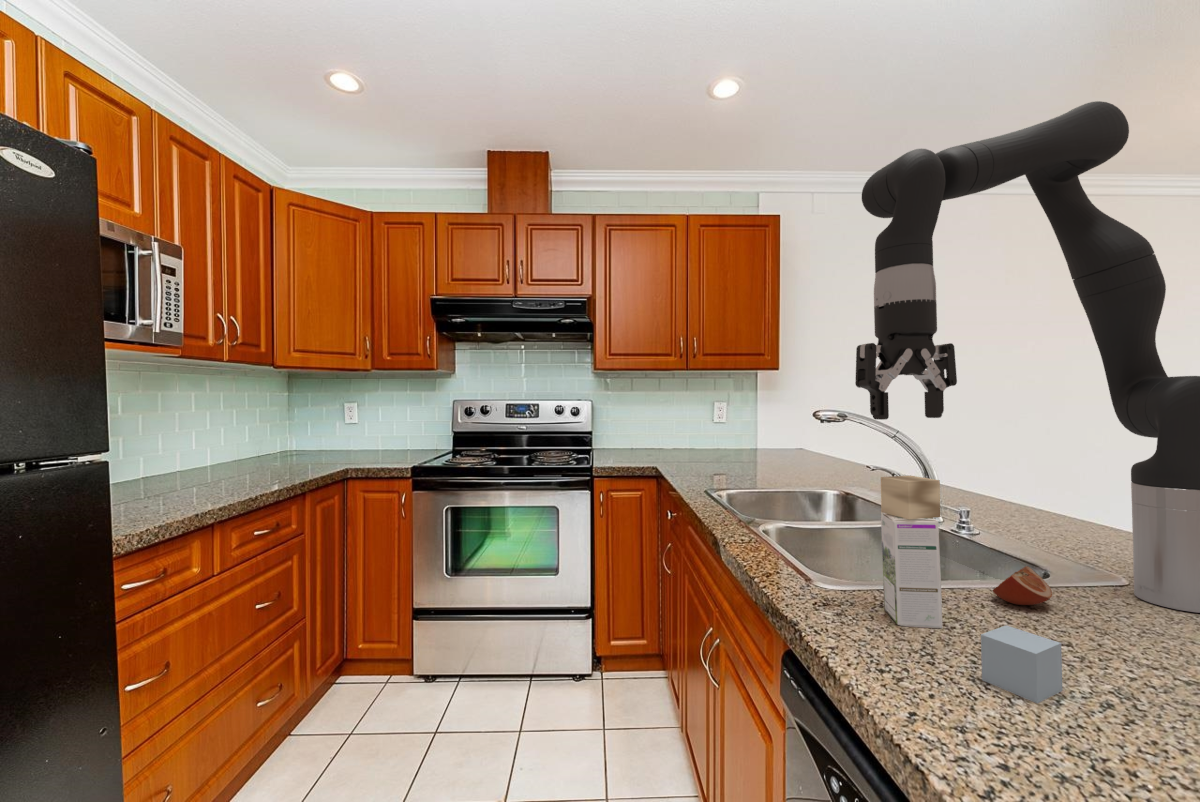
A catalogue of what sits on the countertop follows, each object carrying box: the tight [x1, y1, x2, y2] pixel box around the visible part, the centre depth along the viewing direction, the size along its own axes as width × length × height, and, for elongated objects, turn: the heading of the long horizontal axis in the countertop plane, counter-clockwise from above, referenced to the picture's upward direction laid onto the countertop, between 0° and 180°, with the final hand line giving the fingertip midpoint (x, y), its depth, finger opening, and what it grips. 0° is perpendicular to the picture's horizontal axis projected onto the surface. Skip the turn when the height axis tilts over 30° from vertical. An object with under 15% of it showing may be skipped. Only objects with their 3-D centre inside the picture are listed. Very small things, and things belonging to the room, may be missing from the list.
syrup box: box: [880, 512, 943, 629], centre depth 72 cm, size 6×6×14 cm
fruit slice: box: [992, 565, 1053, 606], centre depth 77 cm, size 8×7×5 cm
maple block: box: [880, 474, 942, 519], centre depth 72 cm, size 5×5×5 cm
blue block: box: [980, 625, 1063, 704], centre depth 55 cm, size 5×5×5 cm
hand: (907, 418), depth 72 cm, fingers open, 8 cm apart
